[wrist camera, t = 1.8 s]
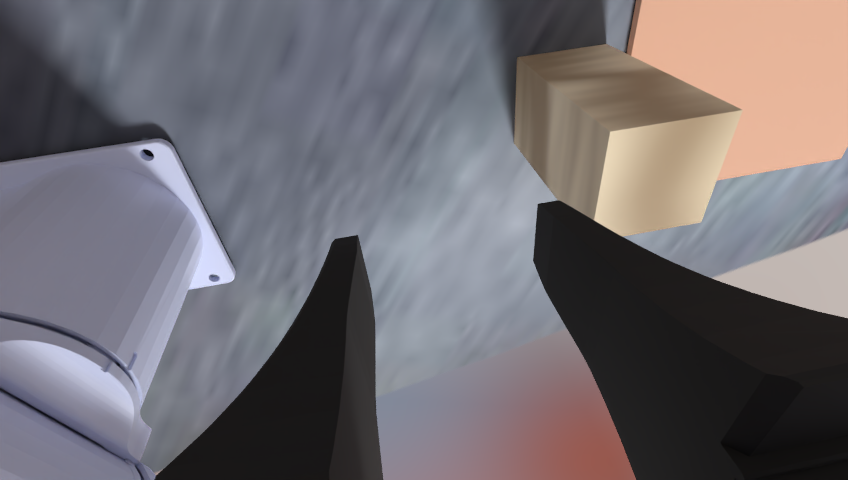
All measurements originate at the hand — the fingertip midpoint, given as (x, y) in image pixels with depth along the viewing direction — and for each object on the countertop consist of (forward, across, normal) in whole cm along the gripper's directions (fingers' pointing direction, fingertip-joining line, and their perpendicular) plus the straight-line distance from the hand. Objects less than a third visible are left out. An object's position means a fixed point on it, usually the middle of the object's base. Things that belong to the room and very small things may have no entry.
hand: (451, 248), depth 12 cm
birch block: (+9, -7, 0) cm, 12 cm away
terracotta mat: (+9, -17, 0) cm, 19 cm away
